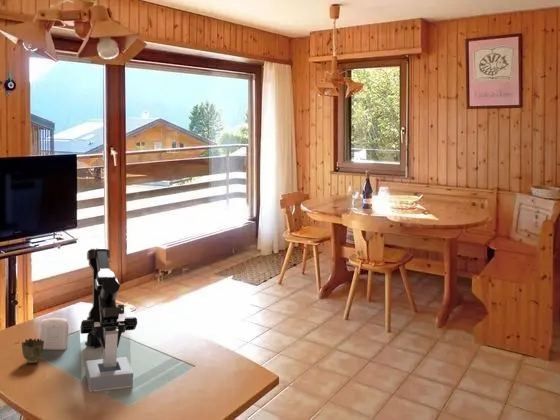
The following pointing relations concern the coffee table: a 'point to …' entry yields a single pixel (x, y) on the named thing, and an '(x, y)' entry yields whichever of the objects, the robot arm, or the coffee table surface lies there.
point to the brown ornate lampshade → (32, 350)
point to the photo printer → (54, 333)
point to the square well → (108, 375)
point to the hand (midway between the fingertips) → (110, 347)
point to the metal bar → (110, 346)
